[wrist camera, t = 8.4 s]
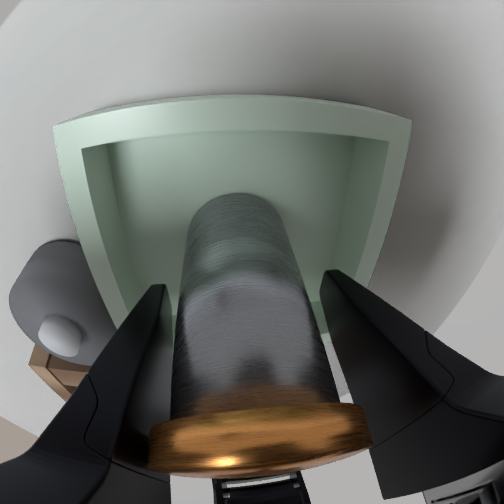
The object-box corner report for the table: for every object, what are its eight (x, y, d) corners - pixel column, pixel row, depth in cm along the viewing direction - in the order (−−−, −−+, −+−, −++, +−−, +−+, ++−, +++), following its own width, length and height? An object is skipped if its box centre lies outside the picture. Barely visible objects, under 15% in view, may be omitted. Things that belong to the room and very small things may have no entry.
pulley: (144, 330, 13) (139, 381, 11) (56, 329, 12) (43, 372, 10) (112, 235, 10) (88, 290, 7) (12, 247, 9) (-19, 291, 6)
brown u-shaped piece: (223, 396, 19) (226, 423, 17) (91, 395, 18) (87, 419, 16) (213, 333, 14) (217, 372, 12) (39, 333, 13) (28, 364, 11)
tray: (327, 301, 14) (345, 338, 12) (139, 318, 13) (133, 360, 11) (369, 107, 8) (412, 120, 6) (89, 112, 7) (52, 126, 5)
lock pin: (284, 280, 12) (329, 464, 6) (181, 280, 11) (171, 477, 5) (304, 186, 9) (420, 421, 3) (173, 182, 8) (112, 454, 2)
